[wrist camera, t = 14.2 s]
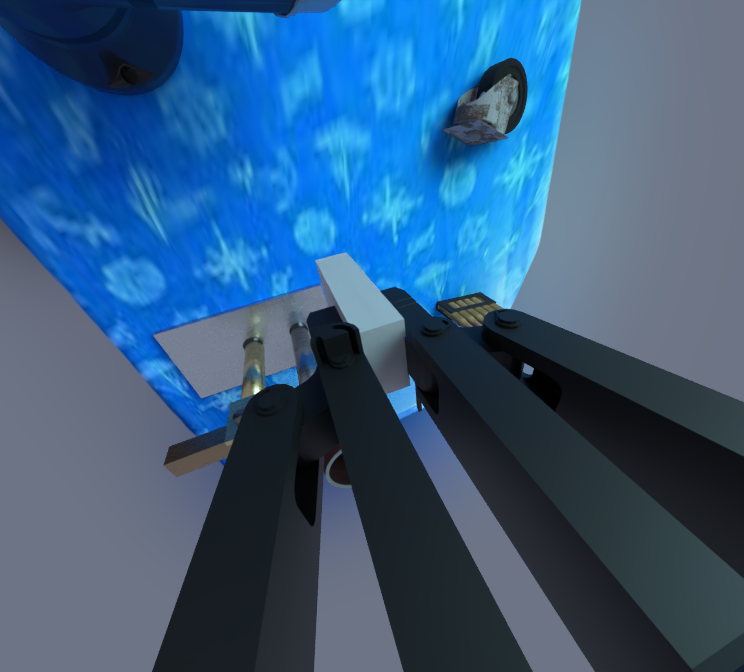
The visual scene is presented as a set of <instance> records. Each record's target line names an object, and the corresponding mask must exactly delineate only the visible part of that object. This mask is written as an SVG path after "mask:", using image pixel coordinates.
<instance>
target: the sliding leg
mask: <svg viewBox="0 0 744 672" xmlns="http://www.w3.org/2000/svg"><path fill="white" fill-rule="evenodd" d="M264 388H265V349H264V346H263V345H262V344H261V343H259V342H251V343H249V344H248V345H247V346H246V347H245V357H244V370H243V382H242V395H241V399H240V400H237V401H235V402H232V403H230V409H229V415H228V419H227V427H226V435H225V444H226V445H227V446H229V445H232V443H233V440H234V437H235V434H236V431H237V428H238V426H239V423H240V420H241V417H242V414H243V411H244V409H245V407H246V405H247V403H248V402H249V400H250V399H251V398H252V397H253V396H254V395H255V394H256V393H257V392H259V391H261V390H263V389H264Z"/></svg>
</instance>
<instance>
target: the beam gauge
mask: <svg viewBox="0 0 744 672" xmlns="http://www.w3.org/2000/svg"><path fill="white" fill-rule="evenodd" d="M324 308H327V304H326V301H325V297H324V294H323V291H322V287H321V284H320V283H318V284H315V285H311V286H308V287H305V288H301V289H298V290H294V291H291V292H288V293H284V294H281V295H278V296H274V297H271V298H268V299H264V300H261V301H257V302H254V303H251V304H247V305H244V306H241V307H237V308H234V309H230V310H227V311H224V312H220V313H217V314H214V315H210V316H207V317H204V318H200V319H197V320H193V321H190V322H187V323H183V324H180V325H177V326H173V327H170V328H166V329H163V330H160V331H156V332H155V333H154V334H153V336H154V337H155V339H156V340H157V341H158V342H159V344H160V345H161V346H162V348H163V349H164V350H165V352H166V353H167V354H168V355H169V357H170V358H171V359H172V361H173V362H174V363H175V364H176V366H177V367H178V368H179V370H180V371H181V372H182V374H183V375H184V376H185V377H186V379H187V380H188V381H189V383H190V384H191V385H192V387H193V388H194V389H195V390H196V392H197V393H198V394H199V396H200V397H201V398H204V397H207V396H210V395H213V394H216V393H219V392H222V391H224V390H227V389H230V388H233V387H236V386H239V385H242V382H243V370H244V357H245V347H246V346H247V345H248V344H249V343H251V342H259V343H261V344H262V345H263V346H264V349H265V376H268V375H271V374H274V373H277V372H279V371H282V370H285V369H288V368H291V367H294V366H296V368H297V374H298V380H299V385H300V384H302V383H303V382H305V381H306V380H308V379H309V378H310V377H311V376H312V375H313V373H314V372H315V370H316V367H317V363H316V360H315V357H314V354H313V351H312V349H311V346H310V338H311V337H310V333H309V329H308V326H307V322H306V320H307V318H308V315H309V313H310V312H314V311H317V310H321V309H324ZM226 427H227V426H224V427H221V428H219V429H216V430H213V431H211V432H208V433H205V434H202V435H200V436H197V437H195V438H192V439H189V440H186V441H183V442H181V443H178V444H175V445H172V446H170V447H169V450H168V453H167V456H166V459H165V462H164V466H165V467H166V468H167V469H168V470H169V471H170V472H171V473H172V474H174V475H175V476H176V477H178V476H180V475H183V474H186V473H188V472H191V471H193V470H196V469H199V468H201V467H204V466H206V465H209V464H211V463H214V462H217V461H219V460H222V459H224V458H227V457H228V454H229V451H230V448H231V446H232V445H229V446H227V445H226V444H225V435H226Z"/></svg>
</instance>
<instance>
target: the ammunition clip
mask: <svg viewBox="0 0 744 672" xmlns="http://www.w3.org/2000/svg"><path fill="white" fill-rule="evenodd" d="M498 309H503V308H502V307H500V306H499V305H497V304H496V302H495V301H494V300H492V299H490V298H489V297H487V296H486V295H484V294H483V293H481V292H480V293H475V294H471V295H466V296H461V297H457V298H452V299H448V300H443V301H439V302H437V309H436V310H437V311H439V312H440V313H441V314H443V315H444V316H445V317H447V318H448V319H449V320H450V321H452V320H453V321H454V322H455V323H457V324H458V325H459V326H461V327H473V326H482V325H483V320H484V316H485V315H486V314H487V313H488V312H491V311H494V310H498Z"/></svg>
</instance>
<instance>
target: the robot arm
mask: <svg viewBox="0 0 744 672" xmlns="http://www.w3.org/2000/svg"><path fill="white" fill-rule="evenodd" d="M340 1H341V0H0V25H1V26H2V27H3V28H4V29H5V30H6V31H7V32H8V33H9V34H10V35H11V36H12V37H13V38H14V39H16V40H17V41H18V42H19V43H20V44H21V45H22V46H24V47H25V48H26V49H27V50H28V51H30V52H31V53H32V54H34V55H35V56H36V57H37V58H39V59H40V60H42V61H43V62H44V63H46V64H47V65H49V66H50V67H52V68H54V69H55V70H57V71H59V72H60V73H62V74H64V75H66V76H68V77H70V78H72V79H74V80H76V81H78V82H81V83H83V84H85V85H87V86H90V87H92V88H95V89H98V90H101V91H104V92H108V93H113V94H121V95H136V94H142V93H146V92H149V91H151V90H154V89H155V88H157V87H159V86H160V85H162V84H163V83H164V82H165V81H166V80H167V79H168V78H169V77H170V76H171V74H172V73H173V71H174V70H175V68H176V66H177V64H178V61H179V58H180V55H181V51H182V45H183V19H182V12H181V10H190V11H225V12H260V13H274V14H275V15H276V16H278V17H280V18H289V17H290V16H294V15H295V14H296V13H321V12H326V11H328V10H329V9H331V8H332V7H334V6H336V4H337V3H339V2H340ZM315 261H316V265H317V268H318V272H319V276H320V279H321V283H322V287H323V290H324V294H325V298H326V301H327V305H328V307H327V308H324V309H321V310H317V311H314V312H310V313H309V315H308V318H307V320H306V322H307V326H308V329H309V333H310V337H311V338H310V346H311V349H312V351H313V354H314V357H315V360H316V363H317V367H316V370H315V372H314V373H313V375H312V376H311V377H310V378H309V379H308V380H306V381H305V382H303V383H302V384H300V385H299V386H297V387H296V388H293V387H292V386H289V385H287V384H276V385H272V386H269V387H266V388H264V389H263V390H261V391H259V392H257V393H256V394H255V395H254V396H253V397H252V398H251V399H250V400H249V402H248V403H247V405H246V407H245V409H244V411H243V414H242V417H241V420H240V423H239V426H238V428H237V431H236V434H235V437H234V440H233V443H232V446H231V448H230V451H229V454H228V457H227V460H226V463H225V465H224V469H223V471H222V474H221V477H220V480H219V483H218V485H217V488H216V491H215V494H214V497H213V500H212V503H211V506H210V508H209V511H208V514H207V517H206V520H205V522H204V525H203V529H202V531H201V534H200V537H199V540H198V543H197V545H196V548H195V551H194V554H193V557H192V560H191V563H190V565H189V568H188V571H187V574H186V577H185V579H184V582H183V585H182V588H181V591H180V594H179V597H178V599H177V602H176V605H175V608H174V611H173V614H172V616H171V619H170V622H169V625H168V628H167V631H166V634H165V637H164V639H163V642H162V645H161V648H160V651H159V654H158V656H157V659H156V662H155V665H154V668H153V671H152V672H314V656H315V636H316V615H317V595H318V575H319V554H320V552H319V551H320V533H321V513H322V492H323V473H324V455H325V454H326V453H327V452H329V451H330V450H331V449H333V448H334V447H335V446H336V445H338V444H339V443H340V447H341V451H342V454H343V458H344V461H345V465H346V468H347V472H348V476H349V479H350V483H351V486H352V490H353V493H354V497H355V500H356V504H357V507H358V511H359V515H360V518H361V522H362V525H363V529H364V532H365V536H366V540H367V543H368V547H369V550H370V553H371V557H372V561H373V564H374V568H375V572H376V575H377V578H378V582H379V586H380V589H381V593H382V596H383V600H384V604H385V607H386V611H387V614H388V618H389V621H390V625H391V628H392V632H393V635H394V639H395V643H396V646H397V650H398V653H399V657H400V661H401V664H402V668H403V671H404V672H533V671H532V669H531V667H530V666H529V664H528V662H527V660H526V658H525V656H524V654H523V652H522V651H521V649H520V647H519V645H518V643H517V641H516V639H515V637H514V636H513V633H512V632H511V630H510V628H509V626H508V624H507V622H506V620H505V618H504V617H503V615H502V613H501V611H500V609H499V607H498V605H497V603H496V601H495V599H494V598H493V596H492V594H491V592H490V590H489V588H488V586H487V585H486V582H485V581H484V579H483V577H482V575H481V573H480V571H479V569H478V567H477V566H476V564H475V562H474V560H473V558H472V556H471V554H470V552H469V550H468V549H467V547H466V545H465V543H464V541H463V539H462V537H461V535H460V533H459V531H458V530H457V528H456V526H455V524H454V522H453V520H452V518H451V516H450V514H449V513H448V511H447V509H446V507H445V505H444V503H443V501H442V499H441V498H440V496H439V494H438V492H437V490H436V488H435V486H434V484H433V482H432V480H431V479H430V477H429V475H428V473H427V471H426V469H425V467H424V465H423V463H422V462H421V460H420V458H419V456H418V454H417V452H416V450H415V448H414V446H413V444H412V443H411V441H410V439H409V437H408V435H407V433H406V431H405V429H404V427H403V426H402V424H401V422H400V420H399V418H398V416H397V414H396V412H395V410H394V409H393V407H392V405H391V403H390V401H389V399H388V397H387V395H386V394H388V393H391V392H393V391H396V390H399V389H402V388H404V387H407V386H410V379H409V374H410V376H411V377H412V379H413V380H414V382H415V387H416V401H417V408H418V411H419V412H420V411H421V410H422V406H421V403H422V404H423V406H424V407H425V408H426V410H427V412H428V413H429V415H430V416H431V418H432V420H433V421H434V423H435V424H436V426H437V427H438V429H439V430H440V432H441V433H442V435H443V437H444V438H445V440H446V441H447V443H448V444H449V446H450V447H451V449H452V450H453V452H454V454H455V455H456V457H457V458H458V460H459V461H460V463H461V464H462V466H463V468H464V469H465V471H466V472H467V474H468V475H469V477H470V479H471V480H472V482H473V483H474V485H475V486H476V488H477V489H478V491H479V492H480V494H481V496H482V497H483V499H484V500H485V502H486V503H487V505H488V506H489V508H490V510H491V511H492V513H493V514H494V516H495V517H496V519H497V520H498V522H499V524H500V525H501V527H502V528H503V530H504V531H505V533H506V534H507V536H508V537H509V539H510V541H511V542H512V544H513V545H514V547H515V548H516V550H517V551H518V553H519V555H520V556H521V558H522V559H523V561H524V562H525V564H526V565H527V567H528V568H529V570H530V572H531V573H532V575H533V576H534V578H535V579H536V581H537V582H538V584H539V586H540V587H541V589H542V590H543V592H544V593H545V595H546V596H547V598H548V600H549V601H550V603H551V604H552V606H553V607H554V609H555V610H556V612H557V613H558V615H559V616H560V618H561V619H562V621H563V623H564V624H565V626H566V627H567V629H568V630H569V632H570V634H571V635H572V637H573V638H574V640H575V641H576V643H577V644H578V646H579V648H580V649H581V651H582V652H583V654H584V655H585V657H586V658H587V660H588V662H589V663H590V665H591V666H592V668H593V669H594V671H595V672H744V402H742V401H739V400H737V399H734V398H732V397H729V396H727V395H724V394H722V393H720V392H717V391H715V390H712V389H710V388H707V387H705V386H702V385H700V384H698V383H695V382H693V381H690V380H688V379H685V378H683V377H680V376H678V375H675V374H673V373H671V372H668V371H665V370H663V369H661V368H658V367H656V366H653V365H650V364H649V363H646V362H644V361H641V360H639V359H636V358H634V357H631V356H629V355H626V354H624V353H621V352H619V351H617V350H614V349H612V348H609V347H607V346H604V345H602V344H599V343H596V342H594V341H592V340H590V339H587V338H584V337H582V336H580V335H577V334H575V333H572V332H570V331H567V330H565V329H563V328H560V327H558V326H555V325H553V324H550V323H548V322H545V321H543V320H540V319H538V318H536V317H533V316H530V315H528V314H526V313H523V312H520V311H517V310H512V309H498V310H494V311H491V312H488V313H487V314H486V315H485V316H484V320H483V325H482V326H473V327H458V326H457V325H456V324H455V323H453V322H452V321H450V320H448V319H445V318H441V317H432V316H431V315H430V314H429V313H428V312H427V311H426V310H425V309H423V308H422V307H421V306H420V305H419V304H418V303H416V301H415V300H414V299H413V298H411V296H410V295H409V294H408V293H407V292H406V291H404V290H402V289H399V288H396V287H393V288H389V289H386V290H382V291H380V290H379V289H378V288H377V287H376V286H375V285H374V283H373V282H372V281H371V280H370V279H369V278H368V277H367V275H366V274H365V273H364V272H363V271H362V270H361V269H360V267H359V266H358V265H357V264H356V263H355V262H354V260H353V259H352V258H351V257H350V256H349V255H348V254H347V252H345V253H342V254H338V255H334V256H330V257H326V258H322V259H318V260H315ZM524 363H526V364H527V365H529V366H531V367H533V368H534V370H533V374H532V375H528V374H526V373H524V372H523V367H524Z"/></svg>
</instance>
